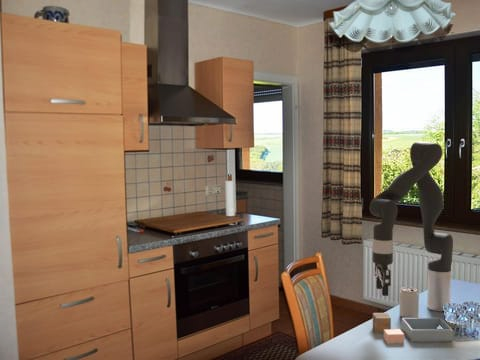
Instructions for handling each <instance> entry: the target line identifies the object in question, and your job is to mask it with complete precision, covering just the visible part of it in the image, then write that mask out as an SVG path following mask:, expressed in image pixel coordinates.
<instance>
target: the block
mask: <svg viewBox="0 0 480 360" xmlns="http://www.w3.org/2000/svg"><path fill="white" fill-rule="evenodd" d="M391 325H392V318H391V316H390V315H389V314H388V312H372V329H373V330H374V332H375V333H376V334H384V330H390V329H392V328H391V327H392V326H391Z"/></svg>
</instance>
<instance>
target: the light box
mask: <svg viewBox="0 0 480 360" xmlns="http://www.w3.org/2000/svg"><path fill="white" fill-rule="evenodd" d="M383 339H384V340H385V342H386V343H387V344H405V333H404V332H403V330H402V329H400V328H397V329H396V328H395V329H394V328H393V329H392V328H391V329H390V330H384V333H383Z"/></svg>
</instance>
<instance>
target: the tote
mask: <svg viewBox="0 0 480 360" xmlns="http://www.w3.org/2000/svg"><path fill="white" fill-rule="evenodd" d="M439 325H440V326H441V327H442V328H443V329H437V327H438V326H439ZM401 331H402V332H403V333H404V335H405V336H406V337H407V338H408V340H409V341H410V342H411V343H453V342H454V329H453V328H452V327H451V326H450V325H448V324H447V323H446V322H445V320H444V319H442V318H441V317H417V318H403V317H401ZM452 341H453V342H452Z"/></svg>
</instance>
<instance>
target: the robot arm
mask: <svg viewBox="0 0 480 360" xmlns="http://www.w3.org/2000/svg"><path fill="white" fill-rule="evenodd" d="M442 157H443V148H442V146H441V145H440V144H439V143H436V142H429V141H415V142H413V143H412V145H411V146H410V150H409V158H410V162H411V166H412V167H411V168H409V169H407V170H405V171H404V172H402V173H400V174H399V175H397V176H396V177H395V178H394V179H393V180H392V182H391V183H390V185H389V186H388V187H387V188H386V189H384V190H383V191H382V192H380V193H379V194H378V195H376V196H375V197H374V198H373V199H372V200H371V202H370V203H369V212H370V214H371V215H373V216H374V217H379V218H382V219H381V222H377V223H375V224H374V225H373V239H372V240H373V241H372V260H371V261H372V263H373V264H374V277H375V280H376V283H375V284H376V285H375V288H376V289H377V290H381V295H382V296H383V297H387V296H389V287H391V286H392V284H391V283H392V282H391V280H392V279H391V277H392V274H391V273H392V271H391V269H390V268H389V265H392V264H393V262H394V242H393V233H394V231H393V229H394V226H395V222H396V219H397V216H398V206H397V203H399V202H401V201H402V200H403V199H404V198H405V197H406V195H407V194H409V192H410V191H411V189H412V188H413V187H414V186H415V184H416V187H417V193H418V194H417V195H418V200H419V207H420V212H421V220H422V227H423V228H422V229H423V244H424V249H425V251H426V252H428V253H430V254H434V255H435V254H436V255H440V258H439V259H436V260H435V259H434V260H431V261H429V262H428V263H427V301H426V305H427V309H429V310H432V311H435V312H442V311H443V306H444V304H446V303H450V304H451V287H452V285H451V283H452V282H451V279H452V276H451V275H452V262H453V251H454V250H453V249H454V238H453V236H452V235H451V234H449V233H443V232H437V231H435V223H436V221H437V219H438V218H439V216H440V215H441V213H442V211H443V209H444V197H443V192H442V190H441V188H440V186H439V185H438V183H437V182H436V180H435V179H434V178H433V177H432V175H431V174H430V171H432V169H433V168H435V167H436V166H437V165H438V164H439V163H440V161H441V159H442Z"/></svg>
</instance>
